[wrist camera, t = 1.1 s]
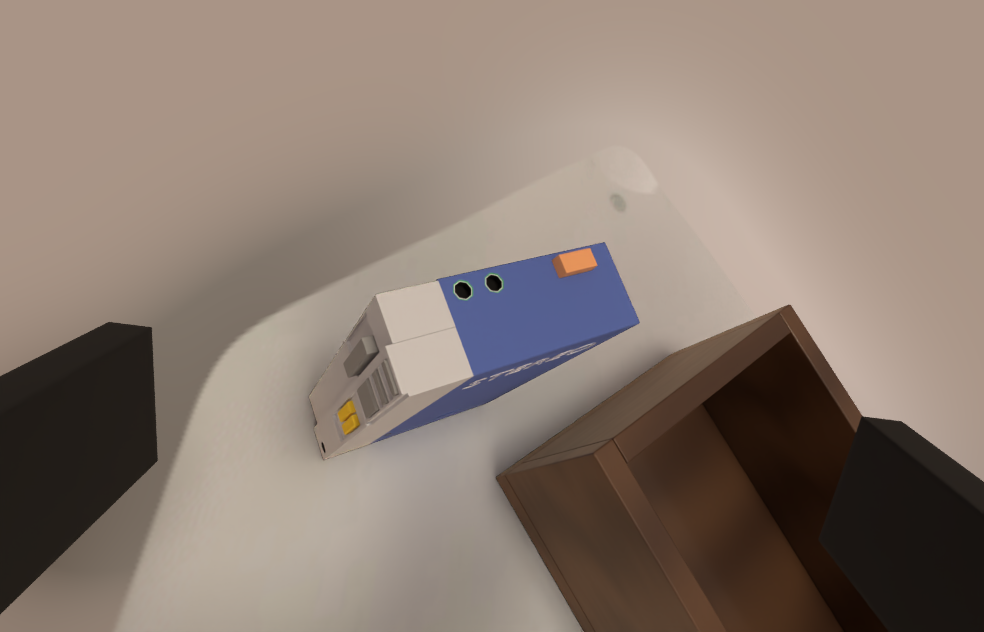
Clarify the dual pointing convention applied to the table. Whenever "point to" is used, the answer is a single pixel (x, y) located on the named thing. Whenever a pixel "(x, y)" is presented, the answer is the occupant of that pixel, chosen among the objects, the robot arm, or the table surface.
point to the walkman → (465, 343)
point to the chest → (702, 492)
